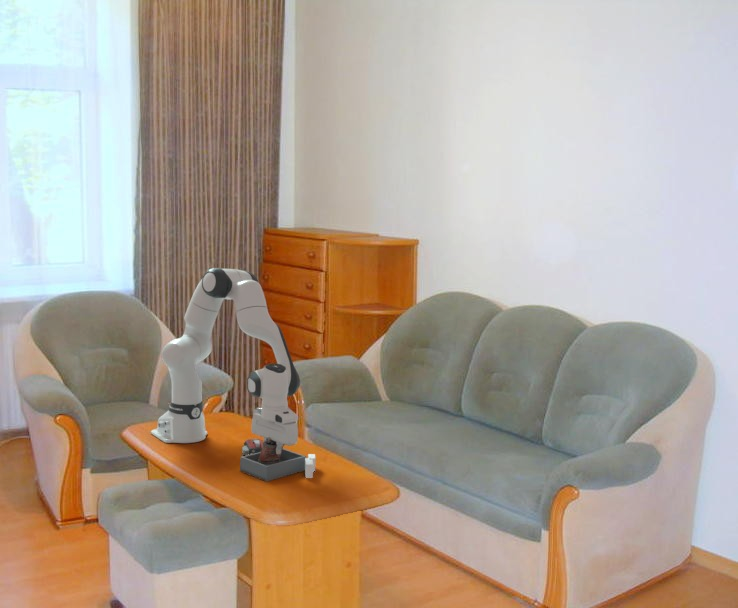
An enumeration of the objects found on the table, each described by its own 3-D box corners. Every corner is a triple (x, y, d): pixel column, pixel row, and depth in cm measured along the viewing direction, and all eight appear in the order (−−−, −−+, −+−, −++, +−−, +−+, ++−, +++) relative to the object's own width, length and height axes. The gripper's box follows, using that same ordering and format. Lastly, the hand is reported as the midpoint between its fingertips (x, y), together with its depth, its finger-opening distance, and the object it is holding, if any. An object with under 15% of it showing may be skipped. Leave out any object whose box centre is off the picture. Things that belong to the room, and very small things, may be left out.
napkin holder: (312, 483, 294) (312, 466, 293) (284, 476, 300) (285, 459, 299) (338, 472, 306) (338, 455, 306) (311, 465, 312) (311, 449, 312)
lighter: (260, 465, 301) (267, 440, 298) (256, 459, 304) (263, 434, 300) (281, 463, 306) (288, 438, 303) (276, 457, 308) (283, 433, 305)
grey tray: (239, 471, 302) (240, 456, 301) (279, 460, 314) (279, 447, 314) (266, 481, 292) (266, 466, 292) (305, 470, 305) (306, 456, 304)
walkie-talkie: (238, 447, 330) (245, 463, 311) (238, 435, 330) (245, 451, 311) (262, 445, 333) (270, 462, 314) (262, 434, 332) (271, 450, 313)
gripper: (247, 407, 305) (246, 446, 307) (287, 420, 292) (286, 461, 293) (261, 404, 310) (260, 443, 312) (301, 417, 296) (300, 457, 298)
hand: (273, 452), depth 303 cm, fingers open, 3 cm apart
